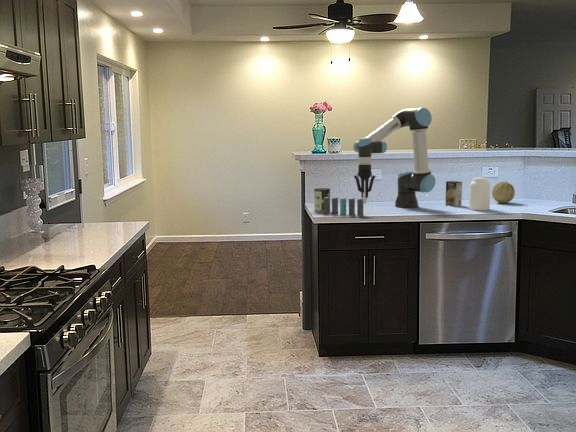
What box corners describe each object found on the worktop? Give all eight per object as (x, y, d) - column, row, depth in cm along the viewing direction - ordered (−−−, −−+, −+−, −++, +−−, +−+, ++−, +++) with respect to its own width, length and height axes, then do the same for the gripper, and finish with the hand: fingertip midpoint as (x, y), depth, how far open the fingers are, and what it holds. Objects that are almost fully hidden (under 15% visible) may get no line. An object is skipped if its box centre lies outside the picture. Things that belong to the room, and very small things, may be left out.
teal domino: (346, 213, 378) (346, 197, 376) (343, 215, 373) (343, 198, 372) (343, 213, 378) (343, 197, 377) (340, 214, 374) (340, 198, 373)
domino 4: (363, 214, 373) (363, 198, 371) (360, 215, 368) (360, 199, 367) (360, 214, 374) (360, 198, 372) (357, 215, 369) (357, 199, 368)
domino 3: (354, 214, 375) (354, 198, 374) (351, 215, 371) (351, 199, 369) (351, 214, 376) (351, 198, 375) (348, 215, 372) (348, 198, 370)
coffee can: (331, 209, 399) (331, 188, 397) (329, 211, 389) (329, 189, 387) (315, 209, 401) (315, 188, 399) (313, 211, 391) (313, 189, 389)
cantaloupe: (488, 203, 415) (489, 181, 413) (495, 201, 427) (495, 179, 425) (511, 204, 407) (512, 182, 405) (517, 202, 419) (517, 180, 417)
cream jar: (472, 207, 397) (473, 176, 394) (492, 208, 390) (493, 177, 387) (466, 209, 387) (466, 178, 384) (485, 211, 380) (486, 179, 377)
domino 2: (338, 213, 380) (337, 197, 379) (335, 214, 376) (334, 198, 374) (335, 213, 381) (334, 197, 379) (332, 214, 376) (331, 198, 375)
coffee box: (444, 205, 412) (445, 181, 410) (451, 204, 416) (451, 180, 413) (455, 206, 405) (456, 182, 402) (462, 205, 408) (462, 181, 406)
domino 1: (329, 213, 382) (329, 197, 381) (326, 214, 378) (326, 198, 376) (326, 212, 383) (326, 197, 382) (323, 214, 379) (323, 198, 377)
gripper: (377, 163, 366) (377, 202, 369) (356, 163, 371) (356, 202, 375) (373, 164, 359) (373, 204, 363) (352, 164, 365) (352, 203, 368)
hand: (364, 203), depth 369 cm, fingers closed
